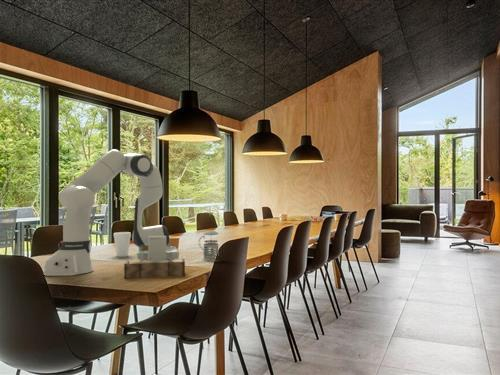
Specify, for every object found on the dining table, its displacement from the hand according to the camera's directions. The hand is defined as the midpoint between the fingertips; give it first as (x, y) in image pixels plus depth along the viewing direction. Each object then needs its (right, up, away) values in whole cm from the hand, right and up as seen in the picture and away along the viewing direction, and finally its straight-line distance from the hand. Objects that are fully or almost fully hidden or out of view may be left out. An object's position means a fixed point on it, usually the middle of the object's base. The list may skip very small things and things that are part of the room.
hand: (157, 257), depth 202 cm
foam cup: (-29, -6, +39) cm, 49 cm away
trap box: (+3, -5, -18) cm, 19 cm away
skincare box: (+1, -5, -4) cm, 7 cm away
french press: (+22, -5, +25) cm, 34 cm away
